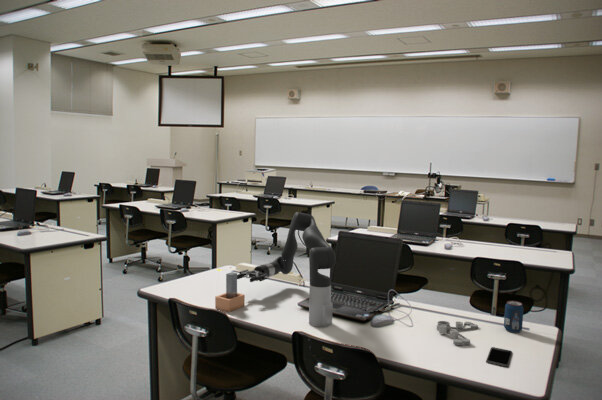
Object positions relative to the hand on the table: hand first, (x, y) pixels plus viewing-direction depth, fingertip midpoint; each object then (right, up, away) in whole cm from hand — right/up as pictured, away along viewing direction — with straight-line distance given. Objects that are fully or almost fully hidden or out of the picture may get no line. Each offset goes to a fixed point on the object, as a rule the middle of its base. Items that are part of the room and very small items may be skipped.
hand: (243, 278), depth 212 cm
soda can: (+118, -17, -30) cm, 122 cm away
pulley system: (+92, -17, -33) cm, 99 cm away
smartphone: (+100, -19, -55) cm, 116 cm away
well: (-6, -12, -7) cm, 15 cm away
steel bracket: (-5, -11, -6) cm, 14 cm away
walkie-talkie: (+66, -14, -5) cm, 68 cm away
